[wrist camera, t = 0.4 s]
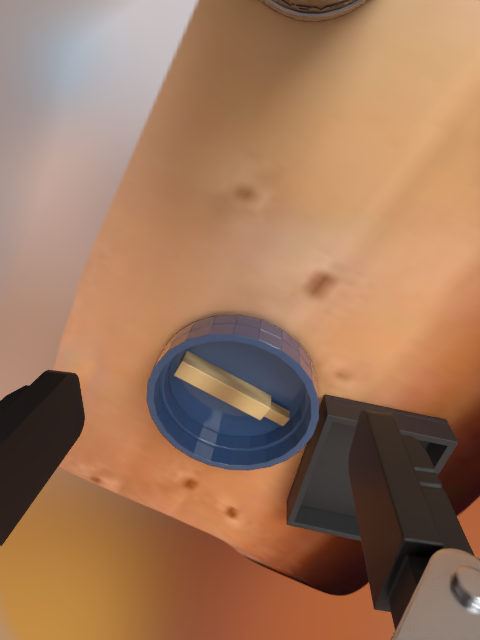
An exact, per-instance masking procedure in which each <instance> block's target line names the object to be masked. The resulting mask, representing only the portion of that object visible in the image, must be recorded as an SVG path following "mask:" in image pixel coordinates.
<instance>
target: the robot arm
mask: <svg viewBox="0 0 480 640" xmlns="http://www.w3.org/2000/svg"><path fill="white" fill-rule="evenodd" d="M262 1H263V2H264V3H265V4H267V5H268V6H269V7H271V8H272V9H273V10H275V11H277V12H279V13H280V14H282V15H285V16H287V17H290V18H293V19H297V20H302V21H323V20H328V19H332V18H336V17H339V16H341V15H344V14H346V13H348V12H350V11H352V10H354V9H356V8H357V7H359V6H361V5H362V4H363V3H365V2H366V1H367V0H262ZM84 420H85V414H84V408H83V402H82V395H81V389H80V383H79V378H78V376H77V375H76V374H75V373H69V372H61V371H53V370H47V371H45V372H44V373H43V374H41V375H40V376H39V377H38V378H37V379H36V380H35V381H34V382H33V383H32V384H31V385H30V386H27V385H26V386H24V387H22V388H20V389H18V390H16V391H14V392H12V393H11V394H9V395H7V396H5V397H4V398H3V399H2V400H1V401H0V546H2V545H3V543H4V542H5V540H6V539H7V538H8V536H9V535H10V533H11V532H12V531H13V529H14V528H15V526H16V525H17V523H18V522H19V521H20V519H21V518H22V516H23V515H24V514H25V512H26V511H27V509H28V508H29V506H30V505H31V504H32V502H33V501H34V499H35V498H36V497H37V495H38V494H39V492H40V491H41V490H42V488H43V487H44V485H45V484H46V483H47V481H48V480H49V478H50V477H51V475H52V474H53V473H54V471H55V470H56V469H57V467H58V466H59V464H60V463H61V462H62V460H63V459H64V457H65V456H66V454H67V453H68V452H69V450H70V449H71V447H72V446H73V445H74V443H75V442H76V440H77V439H78V437H79V436H80V434H81V432H82V429H83V426H84ZM348 466H349V477H350V483H351V488H352V493H353V499H354V504H355V509H356V515H357V520H358V525H359V531H360V536H361V542H362V547H363V552H364V558H365V563H366V568H367V574H368V579H369V584H370V589H371V595H372V600H373V605H374V609H376V610H383V611H388V612H391V614H392V618H393V623H394V627H395V632H394V634H393V636H392V638H391V640H480V559H479V558H478V557H476V556H475V555H474V553H473V551H472V550H471V547H470V545H469V543H468V541H467V539H466V536H465V534H464V532H463V530H462V527H461V525H460V523H459V521H458V519H457V516H456V514H455V512H454V510H453V508H452V505H451V503H450V501H449V499H448V497H447V494H446V492H445V490H444V489H442V483H441V481H440V479H439V477H438V475H437V474H436V473H435V468H434V466H433V464H432V461H431V459H430V457H429V455H428V453H427V451H426V450H425V449H424V448H423V447H422V446H421V445H420V444H419V443H418V442H417V441H416V440H415V438H414V437H413V436H409V435H401V433H400V431H399V428H398V426H397V423H396V420H395V418H394V416H393V415H392V414H391V413H384V412H376V411H368V410H362V411H361V413H360V415H359V419H358V423H357V426H356V430H355V434H354V437H353V441H352V445H351V449H350V453H349V464H348Z"/></svg>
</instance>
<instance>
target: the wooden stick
mask: <svg viewBox="0 0 480 640" xmlns="http://www.w3.org/2000/svg"><path fill="white" fill-rule="evenodd" d="M174 376H176V377H178V378H180V379H182V380H184V381H186V382H188V383H190V384H192V385H193V386H195V387H197V388H199V389H201V390H203V391H205V392H207V393H209V394H211V395H213V396H215V397H216V398H218V399H220V400H222V401H224V402H226V403H228V404H230V405H232V406H234V407H236V408H238V409H239V410H241V411H243V412H245V413H247V414H249V415H251V416H253V417H255V418H257V419H259V420H261V419H262V418H263V417H266V418H268V419H270V420H272V421H274V422H276V423H278V424H279V425H281V426H284V425H285V424H286V423H287V421H288V420H289V419H290V411H288V410H286V409H285V408H283V407H281V406H279V405H277V404H275V403H273V402H271V395H269V394H267V393H265V392H264V391H262V390H260V389H258V388H256V387H254V386H252V385H250V384H249V383H247V382H245V381H243V380H241V379H239V378H237V377H235V376H234V375H232V374H230V373H228V372H226V371H224V370H222V369H221V368H219V367H217V366H215V365H213V364H211V363H209V362H207V361H206V360H204V359H202V358H200V357H198V356H196V355H194V354H192V353H191V352H189V351H186V353H185V355H184V356H183V358H182V360H181V361H180V363H179V365H178V367H177V369H176V371H175V373H174Z"/></svg>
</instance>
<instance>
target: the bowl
mask: <svg viewBox="0 0 480 640" xmlns="http://www.w3.org/2000/svg"><path fill="white" fill-rule="evenodd" d="M186 351H189V352H191V353H192V354H194V355H196V356H198V357H200V358H202V359H204V360H206V361H207V362H209V363H211V364H213V365H215V366H217V367H219V368H221V369H222V370H224V371H226V372H228V373H230V374H232V375H234V376H235V377H237V378H239V379H241V380H243V381H245V382H247V383H249V384H250V385H252V386H254V387H256V388H258V389H260V390H262V391H264V392H265V393H267V394H269V395H271V402H273V403H275V404H277V405H279V406H281V407H283V408H285V409H286V410H288V411H290V419H289V420H288V421H287V423H286V424H285V425H284V426H281V425H279V424H278V423H276V422H274V421H272V420H270V419H268V418H266V417H263V418H262V419H261V420H259V419H257V418H255V417H253V416H251V415H249V414H247V413H245V412H243V411H241V410H239V409H238V408H236V407H234V406H232V405H230V404H228V403H226V402H224V401H222V400H220V399H218V398H216V397H215V396H213V395H211V394H209V393H207V392H205V391H203V390H201V389H199V388H197V387H195V386H193V385H192V384H190V383H188V382H186V381H184V380H182V379H180V378H178V377H176V376H174V373H175V371H176V369H177V367H178V365H179V363H180V361H181V360H182V358H183V356H184V355H185V353H186ZM147 403H148V407H149V411H150V415H151V417H152V419H153V421H154V423H155V424H156V426H157V428H158V430H159V431H160V433H161V434H162V435H163V436H164V437H165V438H166V439H167V440H168V441H169V442H170V443H171V444H172V445H173V446H174V447H175V448H177V449H178V450H180V451H181V452H183V453H184V454H186V455H187V456H189V457H191V458H193V459H195V460H198V461H200V462H202V463H205V464H207V465H210V466H214V467H219V468H224V469H228V470H254V469H260V468H267V467H271V466H273V465H276V464H278V463H281V462H284V461H286V460H288V459H289V458H290V457H292V456H293V455H295V454H296V453H298V452H299V451H300V450H301V449H303V447H304V446H305V445H306V443H307V442H308V441H309V440H310V438H311V437H312V436H313V434H314V431H315V428H316V425H317V423H318V420H319V396H318V387H317V378H316V374H315V371H314V368H313V365H312V362H311V359H310V358H309V356H308V355H307V354H306V352H305V351H304V349H303V348H302V347H301V345H300V344H299V343H298V342H297V341H296V340H295V339H293V338H292V337H291V336H290V335H288V334H287V333H286V332H285V331H284V330H281V328H279V327H277V326H274V325H272V324H270V323H268V322H266V321H264V320H261V319H257V318H252V317H248V316H243V315H217V316H212V317H209V318H205V319H202V320H198V321H195V322H193V323H192V324H190V325H188V326H187V327H185V328H184V329H182V330H180V331H179V332H178V333H177V334H176V335H175V336H174V337H173V338H172V339H171V341H170V342H169V343H168V344H167V345H166V347H165V348H164V350H163V352H162V354H161V355H160V357H159V359H158V361H157V362H156V364H155V366H154V368H153V371H152V373H151V375H150V378H149V380H148V384H147Z"/></svg>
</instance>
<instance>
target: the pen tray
mask: <svg viewBox="0 0 480 640" xmlns="http://www.w3.org/2000/svg"><path fill="white" fill-rule="evenodd" d="M362 410H368V411H376V412H384V413H391V414H392V415H393V416H394V418H395V420H396V423H397V426H398V428H399V431H400V433H401V435H409V436H413V437H414V438H415V440H416V441H417V442H418V443H419V444H420V445H421V446H422V447H423V448H424V449H425V450H426V451H427V453H428V455H429V457H430V459H431V461H432V464H433V466H434V468H435V473H436V474H437V475H438V474H439V472H440V471H441V469H442V468H443V466H444V464H445V463H446V461H447V460H448V458H449V457H450V455H451V453H452V452H453V450H454V449H455V447H456V445H457V444H458V441H457V439H456V437H455V435H454V434H453V432H452V430H451V428H450V426H449V425H448V422H447V421H446V420H444V419H439V418H434V417H430V416H425V415H420V414H415V413H410V412H406V411H401V410H396V409H391V408H387V407H382V406H377V405H372V404H367V403H363V402H358V401H353V400H348V399H343V398H339V397H334V396H329V395H324V398H323V401H322V404H321V407H320V409H319V420H318V423H317V425H316V428H315V431H314V434H313V436H312V437H311V438H310V440H309V441H308V443H307V446H306V449H305V452H304V455H303V457H302V460H301V463H300V466H299V469H298V471H297V474H296V477H295V480H294V483H293V486H292V488H291V491H290V494H289V497H288V500H287V525H290V526H295V527H299V528H304V529H309V530H313V531H318V532H322V533H327V534H331V535H336V536H340V537H345V538H349V539H354V540H359V541H361V536H360V531H359V525H358V520H357V515H356V509H355V504H354V499H353V493H352V488H351V483H350V477H349V466H348V464H349V453H350V449H351V445H352V441H353V437H354V434H355V430H356V426H357V423H358V419H359V415H360V413H361V411H362Z"/></svg>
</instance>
